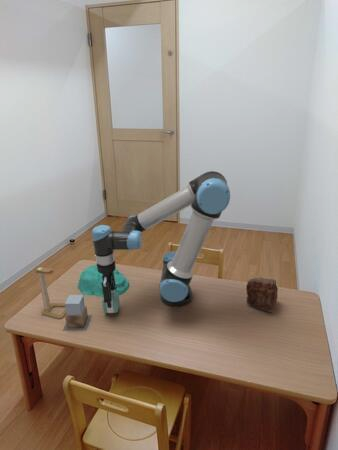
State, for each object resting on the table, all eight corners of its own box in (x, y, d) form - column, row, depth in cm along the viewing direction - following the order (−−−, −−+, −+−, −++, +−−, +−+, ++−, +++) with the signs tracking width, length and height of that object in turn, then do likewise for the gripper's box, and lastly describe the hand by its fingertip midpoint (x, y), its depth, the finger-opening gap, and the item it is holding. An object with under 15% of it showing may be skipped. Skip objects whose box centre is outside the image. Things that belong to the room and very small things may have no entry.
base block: (88, 317, 146) (86, 305, 144) (83, 328, 139) (82, 316, 137) (72, 317, 146) (70, 305, 144) (67, 328, 140) (65, 316, 137)
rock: (244, 313, 147) (246, 284, 141) (245, 297, 157) (247, 270, 151) (277, 317, 144) (281, 288, 138) (276, 301, 154) (279, 273, 148)
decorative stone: (92, 271, 183) (90, 255, 179) (136, 281, 173) (135, 264, 169) (68, 291, 166) (65, 274, 162) (115, 303, 156) (114, 285, 152)
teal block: (119, 304, 151) (118, 292, 148) (117, 312, 145) (116, 301, 143) (106, 304, 151) (105, 293, 148) (103, 312, 145) (102, 301, 143)
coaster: (92, 316, 147) (92, 315, 147) (86, 331, 138) (86, 330, 138) (69, 315, 148) (69, 315, 148) (62, 331, 139) (62, 330, 138)
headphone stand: (62, 320, 145) (54, 277, 136) (39, 317, 147) (29, 274, 138) (73, 305, 154) (66, 264, 146) (51, 303, 157) (43, 262, 148)
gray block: (84, 306, 143) (83, 294, 141) (81, 315, 138) (79, 303, 135) (71, 306, 143) (69, 295, 141) (66, 315, 138) (64, 303, 135)
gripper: (101, 251, 148) (108, 295, 157) (91, 274, 130) (99, 321, 139) (118, 250, 147) (124, 294, 156) (110, 273, 130) (117, 321, 139)
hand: (112, 307), depth 148 cm, fingers closed on teal block, 6 cm apart
